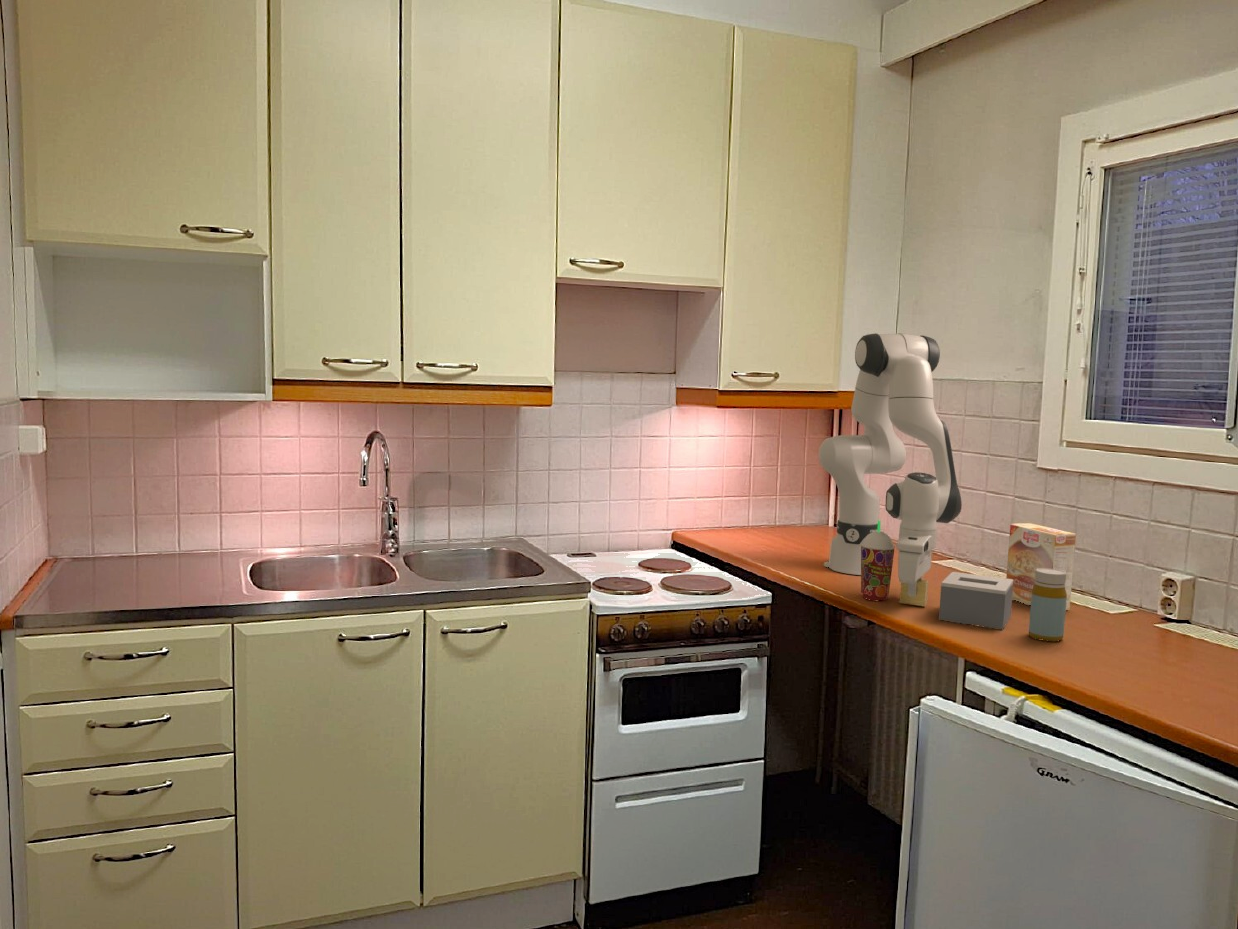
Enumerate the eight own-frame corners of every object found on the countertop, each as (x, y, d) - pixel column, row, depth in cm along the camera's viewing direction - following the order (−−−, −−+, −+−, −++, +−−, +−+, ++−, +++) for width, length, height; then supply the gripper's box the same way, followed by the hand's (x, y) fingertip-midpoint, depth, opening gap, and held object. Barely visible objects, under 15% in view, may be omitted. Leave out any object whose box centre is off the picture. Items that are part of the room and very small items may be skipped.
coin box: (949, 607, 234) (952, 571, 233) (1010, 616, 227) (1013, 579, 226) (938, 620, 222) (941, 582, 221) (1002, 630, 215) (1005, 591, 214)
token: (902, 600, 238) (903, 577, 237) (926, 604, 235) (928, 580, 234) (899, 602, 236) (901, 579, 235) (924, 606, 233) (926, 582, 232)
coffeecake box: (1003, 597, 246) (1009, 523, 243) (1024, 596, 248) (1030, 522, 246) (1048, 612, 232) (1054, 534, 230) (1070, 610, 234) (1077, 532, 232)
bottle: (1033, 631, 215) (1038, 566, 213) (1066, 637, 210) (1072, 571, 209) (1024, 637, 209) (1029, 571, 208) (1058, 644, 205) (1063, 576, 203)
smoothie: (868, 603, 236) (873, 523, 233) (851, 595, 244) (856, 518, 241) (898, 601, 238) (903, 523, 236) (880, 593, 246) (885, 517, 244)
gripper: (913, 531, 244) (910, 584, 246) (894, 544, 226) (891, 601, 228) (939, 534, 241) (935, 587, 243) (922, 547, 223) (918, 605, 225)
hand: (913, 594), depth 235 cm, fingers closed on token, 2 cm apart
